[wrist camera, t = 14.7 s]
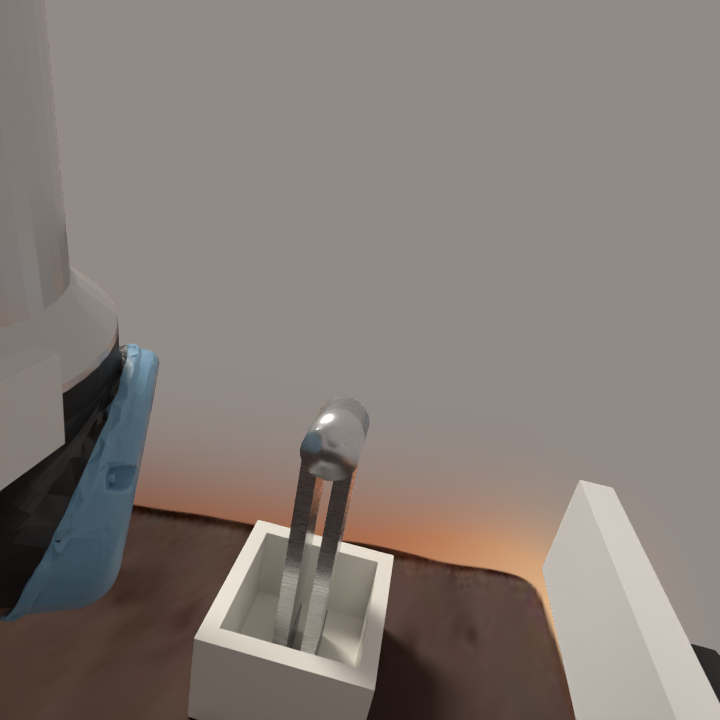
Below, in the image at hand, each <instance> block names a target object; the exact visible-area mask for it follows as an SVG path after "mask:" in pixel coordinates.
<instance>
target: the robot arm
mask: <svg viewBox="0 0 720 720" xmlns="http://www.w3.org/2000/svg"><path fill="white" fill-rule="evenodd" d="M49 55H50V54H49V44H48V33H47V23H46V13H45V2H44V0H0V620H1V621H14V620H17V619H19V618H21V617H22V616H23V615H27V614H36V613H45V612H54V611H63V610H71V609H78V608H82V607H85V606H88V605H90V604H92V603H94V602H96V601H97V600H98V599H100V598H101V597H102V596H104V595H105V594H106V592H107V591H108V590H109V589H110V588H111V587H112V585H113V584H114V582H115V580H116V578H117V576H118V572H119V569H120V566H121V561H122V556H123V552H124V547H125V542H126V537H127V532H128V527H129V522H130V517H131V512H132V507H133V502H134V497H135V491H136V487H137V481H138V477H139V471H140V466H141V461H142V455H143V451H144V445H145V440H146V434H147V429H148V424H149V419H150V413H151V409H152V403H153V398H154V393H155V387H156V382H157V376H158V369H159V359H158V357H157V355H156V354H155V353H154V352H151V351H150V350H147V349H141V348H140V347H139V346H137V345H135V344H128V345H126V344H125V345H124V346H120V347H119V337H118V321H117V316H116V311H115V306H114V304H113V303H112V301H111V299H110V297H109V296H108V295H107V294H106V293H105V292H104V291H103V290H102V289H101V288H100V287H99V286H98V285H96V284H95V283H94V282H93V281H91V280H90V279H88V278H87V277H85V276H84V275H83V274H81V273H80V272H78V271H77V270H75V269H74V268H72V267H71V266H69V256H68V245H67V235H66V224H65V214H64V203H63V192H62V182H61V171H60V160H59V150H58V139H57V128H56V118H55V108H54V97H53V87H52V76H51V65H50V56H49ZM542 570H543V574H544V579H545V583H546V587H547V592H548V596H549V601H550V605H551V610H552V615H553V619H554V623H555V628H556V632H557V637H558V641H559V646H560V650H561V655H562V659H563V664H564V668H565V672H566V677H567V681H568V686H569V690H570V695H571V699H572V704H573V708H574V713H575V717H576V720H720V655H719V654H718V653H717V652H716V651H715V650H712V649H708V648H705V647H701V646H697V645H693V644H690V642H689V640H688V638H687V637H686V635H685V632H684V630H683V628H682V626H681V624H680V622H679V620H678V618H677V616H676V614H675V613H674V610H673V608H672V606H671V604H670V602H669V600H668V598H667V596H666V594H665V592H664V590H663V588H662V586H661V584H660V582H659V580H658V578H657V576H656V574H655V572H654V570H653V568H652V566H651V564H650V562H649V560H648V558H647V556H646V554H645V552H644V550H643V548H642V546H641V544H640V542H639V539H638V537H637V535H636V533H635V531H634V529H633V527H632V525H631V524H630V521H629V519H628V517H627V515H626V513H625V511H624V509H623V507H622V505H621V503H620V501H619V499H618V497H617V495H616V493H615V491H614V489H613V488H611V487H607V486H603V485H599V484H594V483H591V482H586V481H582V480H579V483H578V485H577V487H576V490H575V492H574V495H573V497H572V499H571V502H570V504H569V506H568V509H567V511H566V513H565V516H564V518H563V520H562V523H561V525H560V527H559V530H558V532H557V534H556V537H555V539H554V541H553V544H552V546H551V549H550V551H549V553H548V556H547V558H546V560H545V563H544V565H543V567H542Z"/></svg>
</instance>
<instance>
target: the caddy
mask: <svg viewBox="0 0 720 720" xmlns="http://www.w3.org/2000/svg"><path fill="white" fill-rule="evenodd" d="M290 529H291V528H287V527H283V526H279V525H275V524H272V523H268V522H264V521H260V520H258V521H257V523H256V525H255V527H254V529H253V530H252V532H251V534H250V536H249V538H248V540H247V542H246V543H245V545H244V547H243V549H242V551H241V553H240V554H239V556H238V558H237V560H236V562H235V564H234V566H233V567H232V569H231V571H230V573H229V575H228V577H227V579H226V580H225V582H224V584H223V586H222V588H221V590H220V591H219V593H218V595H217V597H216V599H215V601H214V603H213V604H212V606H211V608H210V610H209V612H208V614H207V616H206V617H205V619H204V621H203V623H202V625H201V627H200V628H199V630H198V632H197V634H196V636H195V638H194V645H193V658H192V670H191V682H190V695H189V707H188V717H191V718H194V719H197V720H366V719H367V716H368V712H369V709H370V705H371V702H372V698H373V695H374V691H375V685H376V678H377V671H378V664H379V657H380V650H381V642H382V635H383V628H384V621H385V614H386V607H387V600H388V593H389V586H390V579H391V572H392V565H393V557H394V556H393V555H389V554H385V553H382V552H378V551H374V550H370V549H366V548H363V547H359V546H355V545H351V544H348V543H344V542H342V543H341V547H340V552H339V557H338V561H337V566H336V571H335V576H334V580H333V585H332V590H331V594H330V599H329V604H328V608H327V610H328V612H327V617H326V622H325V626H324V631H323V636H322V639H321V643H320V647H319V650H318V654H317V656H316V655H312V654H309V653H305V652H302V651H300V649H301V645H302V640H303V635H304V630H305V624H306V619H307V614H308V609H309V604H310V599H311V593H312V588H313V583H314V578H315V573H316V568H317V563H318V557H319V552H320V547H321V542H322V537H321V536H317V535H314V538H313V543H312V549H311V554H310V559H309V565H308V570H307V576H306V581H305V586H304V592H303V597H302V602H301V603H302V607H301V613H300V618H299V623H298V629H297V632H296V635H295V638H294V641H293V644H292V647H291V648H288V647H284V646H281V645H277V644H274V643H272V640H273V634H274V627H275V621H276V615H277V609H278V603H279V597H280V591H281V584H282V578H283V572H284V566H285V560H286V554H287V548H288V541H289V535H290Z"/></svg>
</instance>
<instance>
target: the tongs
mask: <svg viewBox="0 0 720 720" xmlns="http://www.w3.org/2000/svg"><path fill="white" fill-rule="evenodd" d="M368 429H369V417H368V414H367V412H366V410H365V408H364V407H363V406H362V405H361V404H360V403H359V402H357V401H355V400H353V399H351V398H347V397H335V398H332V399H330V400H328V401H326V402H325V403H324V404H323V405H322V407H321V408H320V410H319V412H318V414H317V416H316V417H315V419H314V422H313V423H312V425H311V427H310V429H309V430H308V432H307V434H306V436H305V438H304V440H303V442H302V444H301V448H300V456H301V459H302V462H301V468H300V474H299V480H298V486H297V492H296V499H295V505H294V511H293V517H292V523H291V529H290V535H289V541H288V548H287V554H286V560H285V566H284V572H283V578H282V584H281V591H280V597H279V603H278V609H277V615H276V621H275V627H274V634H273V640H272V643H274V644H277V645H281V646H284V647H288V648H291V647H292V644H293V641H294V638H295V635H296V632H297V629H298V623H299V618H300V613H301V607H302V603H301V602H302V597H303V592H304V586H305V581H306V576H307V570H308V565H309V559H310V554H311V549H312V543H313V538H314V533H315V527H316V522H317V516H318V511H319V505H320V500H321V495H322V489H323V484H324V480H327V481H333V485H332V491H331V496H330V501H329V506H328V511H327V517H326V522H325V527H324V532H323V537H322V542H321V547H320V552H319V557H318V563H317V568H316V573H315V578H314V583H313V588H312V593H311V599H310V604H309V609H308V614H307V619H306V624H305V630H304V635H303V640H302V645H301V649H300V651H302V652H305V653H309V654H312V655H316V656H317V654H318V650H319V647H320V643H321V639H322V636H323V631H324V626H325V622H326V617H327V612H328V610H327V608H328V604H329V599H330V594H331V590H332V585H333V580H334V576H335V571H336V566H337V561H338V557H339V552H340V547H341V543H342V538H343V533H344V529H345V524H346V519H347V515H348V510H349V505H350V501H351V496H352V491H353V487H354V482H355V477H356V472H357V468H358V463H359V458H360V455H361V451H362V448H363V445H364V441H365V438H366V435H367V432H368Z"/></svg>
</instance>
